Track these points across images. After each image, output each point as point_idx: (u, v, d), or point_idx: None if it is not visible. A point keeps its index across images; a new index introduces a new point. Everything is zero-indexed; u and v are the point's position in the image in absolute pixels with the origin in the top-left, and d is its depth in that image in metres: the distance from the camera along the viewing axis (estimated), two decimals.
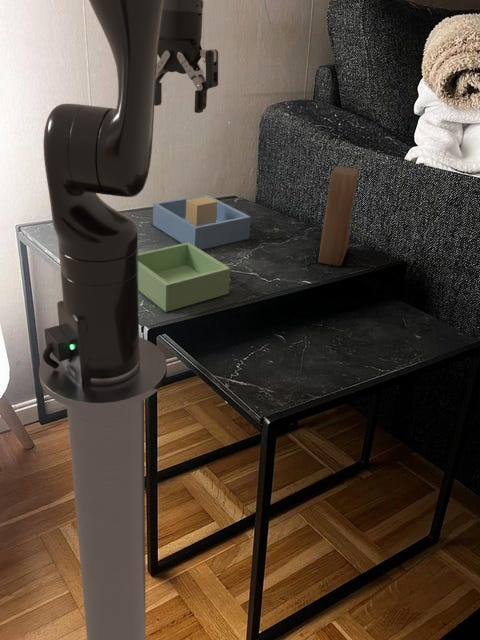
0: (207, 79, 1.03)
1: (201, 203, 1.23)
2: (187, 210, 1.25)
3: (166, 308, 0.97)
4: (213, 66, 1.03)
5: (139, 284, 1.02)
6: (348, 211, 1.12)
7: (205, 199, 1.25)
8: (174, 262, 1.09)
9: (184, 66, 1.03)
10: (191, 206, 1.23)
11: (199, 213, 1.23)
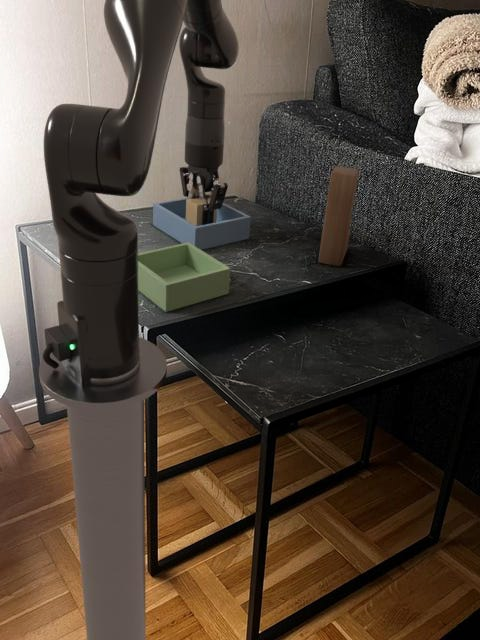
0: (210, 203, 1.20)
1: (201, 203, 1.23)
2: (187, 210, 1.25)
3: (166, 308, 0.97)
4: (217, 197, 1.18)
5: (139, 284, 1.02)
6: (348, 211, 1.12)
7: None
8: (174, 262, 1.09)
9: (199, 187, 1.21)
10: (191, 206, 1.23)
11: (199, 213, 1.23)
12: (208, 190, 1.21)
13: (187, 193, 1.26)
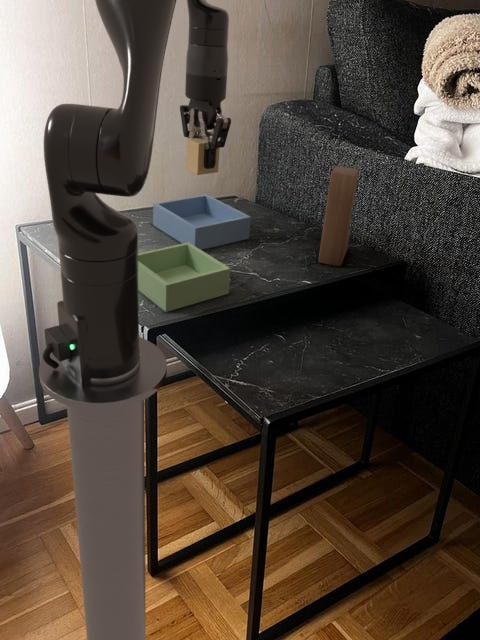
0: (212, 140, 1.13)
1: (203, 142, 1.16)
2: (187, 151, 1.18)
3: (166, 308, 0.97)
4: (220, 132, 1.11)
5: (139, 284, 1.02)
6: (348, 211, 1.12)
7: None
8: (174, 262, 1.09)
9: (201, 124, 1.13)
10: (192, 145, 1.16)
11: (201, 153, 1.16)
12: (210, 127, 1.14)
13: (188, 133, 1.19)
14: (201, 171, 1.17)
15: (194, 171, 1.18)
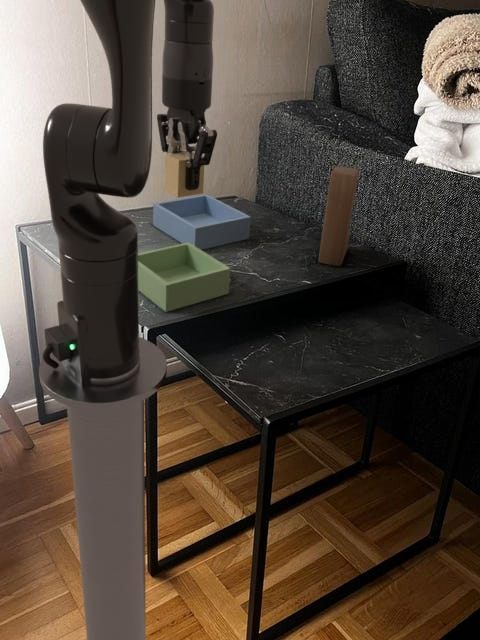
0: (195, 157, 0.94)
1: (184, 158, 0.96)
2: (166, 168, 0.99)
3: (166, 308, 0.97)
4: (204, 148, 0.92)
5: (139, 284, 1.02)
6: (348, 211, 1.12)
7: None
8: (174, 262, 1.09)
9: (181, 137, 0.94)
10: (171, 162, 0.97)
11: (182, 171, 0.96)
12: (192, 141, 0.95)
13: (166, 147, 1.00)
14: (182, 193, 0.98)
15: (174, 193, 0.99)
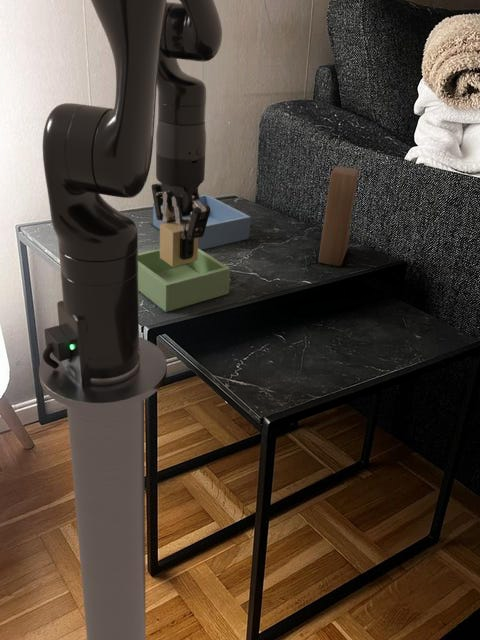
0: (188, 230, 0.95)
1: (178, 229, 0.98)
2: (161, 238, 1.00)
3: (166, 308, 0.97)
4: (197, 223, 0.94)
5: (139, 284, 1.02)
6: (348, 211, 1.12)
7: None
8: None
9: (175, 210, 0.96)
10: (165, 233, 0.99)
11: (176, 242, 0.98)
12: (186, 214, 0.96)
13: (161, 216, 1.01)
14: (177, 262, 1.00)
15: (169, 262, 1.00)
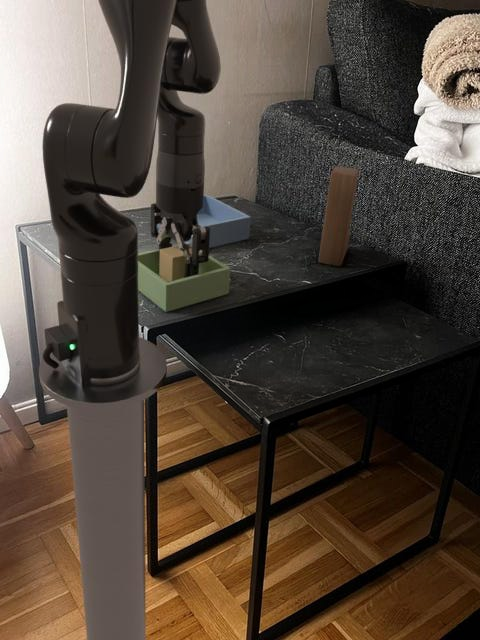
0: (193, 255, 0.96)
1: (177, 255, 1.00)
2: (160, 262, 1.02)
3: (166, 308, 0.97)
4: (199, 244, 0.95)
5: (139, 284, 1.02)
6: (348, 211, 1.12)
7: None
8: None
9: (176, 237, 0.97)
10: (165, 258, 1.01)
11: (175, 267, 1.00)
12: (185, 240, 0.98)
13: (156, 234, 1.04)
14: None
15: None
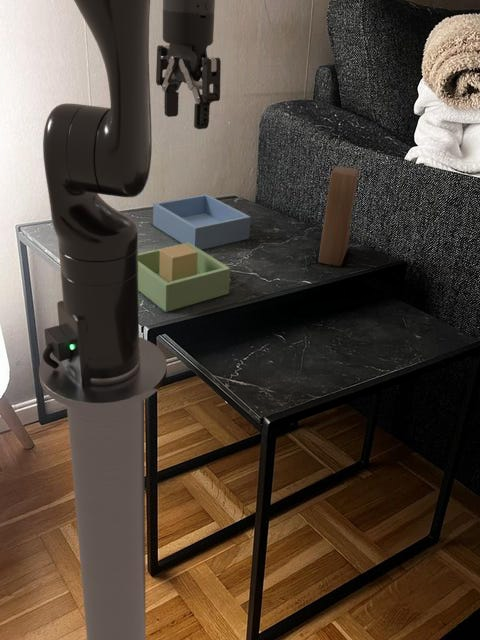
0: (203, 91, 0.89)
1: (177, 255, 1.00)
2: (160, 262, 1.02)
3: (166, 308, 0.97)
4: (210, 77, 0.88)
5: (139, 284, 1.02)
6: (348, 211, 1.12)
7: (183, 248, 1.03)
8: None
9: (185, 75, 0.91)
10: (165, 258, 1.01)
11: (175, 267, 1.00)
12: (194, 79, 0.92)
13: (161, 82, 0.98)
14: None
15: None
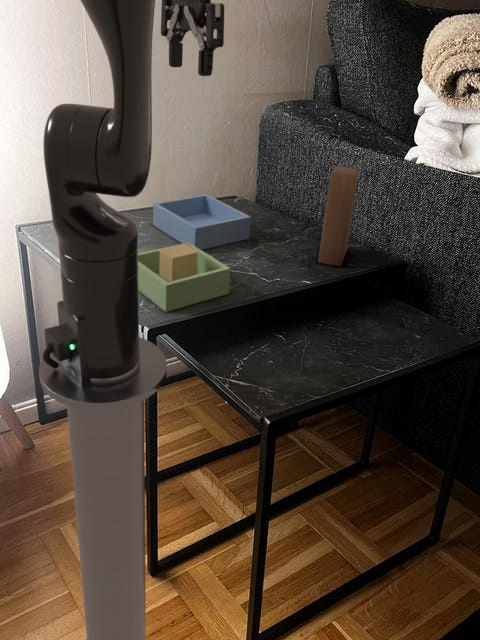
0: (207, 36, 0.92)
1: (177, 255, 1.00)
2: (160, 262, 1.02)
3: (166, 308, 0.97)
4: (214, 22, 0.91)
5: (139, 284, 1.02)
6: (348, 211, 1.12)
7: (183, 248, 1.03)
8: None
9: (189, 21, 0.94)
10: (165, 258, 1.01)
11: (175, 267, 1.00)
12: (198, 27, 0.94)
13: (166, 32, 1.00)
14: None
15: None
